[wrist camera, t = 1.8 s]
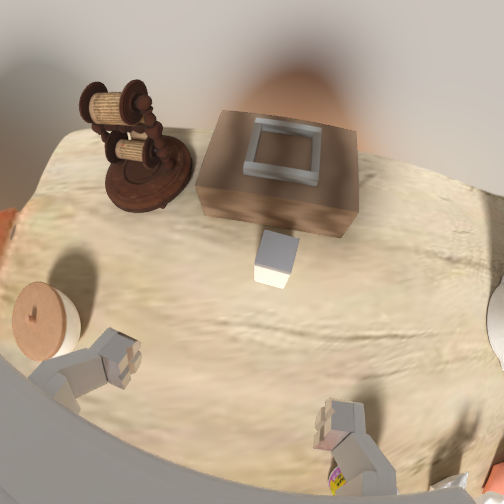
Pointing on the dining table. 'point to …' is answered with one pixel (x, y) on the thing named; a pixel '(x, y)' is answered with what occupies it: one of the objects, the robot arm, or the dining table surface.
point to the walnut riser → (281, 173)
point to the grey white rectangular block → (275, 258)
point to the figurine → (490, 500)
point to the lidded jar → (45, 322)
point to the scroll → (135, 148)
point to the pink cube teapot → (496, 479)
